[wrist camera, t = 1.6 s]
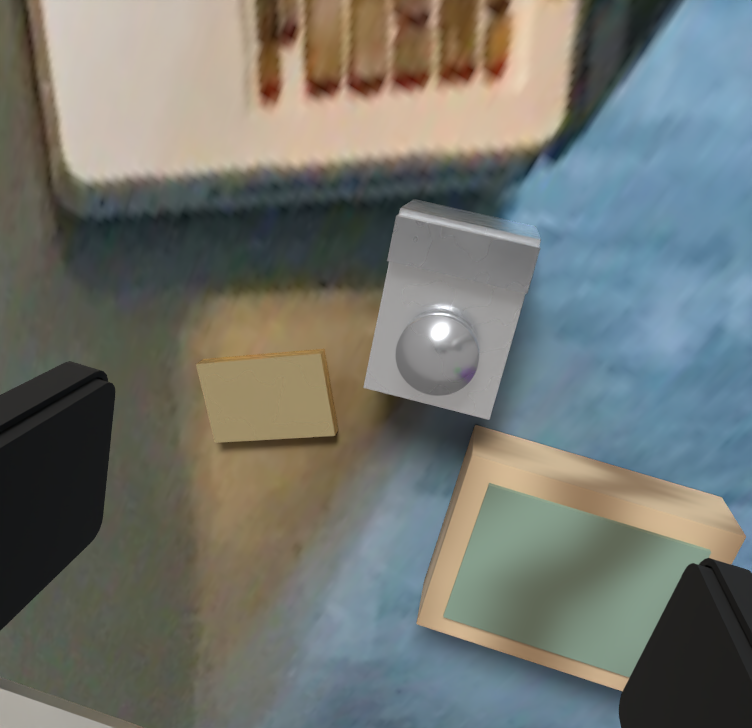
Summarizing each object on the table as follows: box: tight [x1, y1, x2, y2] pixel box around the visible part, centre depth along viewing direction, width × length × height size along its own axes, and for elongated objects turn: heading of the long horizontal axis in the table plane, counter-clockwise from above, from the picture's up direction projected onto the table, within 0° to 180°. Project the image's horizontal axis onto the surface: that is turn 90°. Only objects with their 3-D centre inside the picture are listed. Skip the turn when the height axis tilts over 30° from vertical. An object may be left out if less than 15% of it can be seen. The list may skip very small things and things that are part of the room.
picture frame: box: [417, 425, 746, 691], centre depth 28 cm, size 11×9×3 cm
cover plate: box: [196, 349, 338, 443], centre depth 30 cm, size 6×4×1 cm, turn 97°
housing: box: [364, 199, 541, 420], centre depth 25 cm, size 7×5×5 cm
